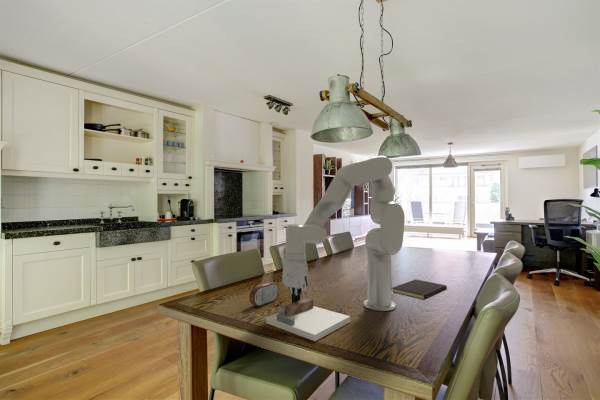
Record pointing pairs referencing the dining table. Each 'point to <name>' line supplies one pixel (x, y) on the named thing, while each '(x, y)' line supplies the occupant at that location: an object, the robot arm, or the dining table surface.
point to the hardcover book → (419, 288)
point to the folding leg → (296, 307)
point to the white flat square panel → (310, 322)
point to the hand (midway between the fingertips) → (296, 304)
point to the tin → (264, 293)
